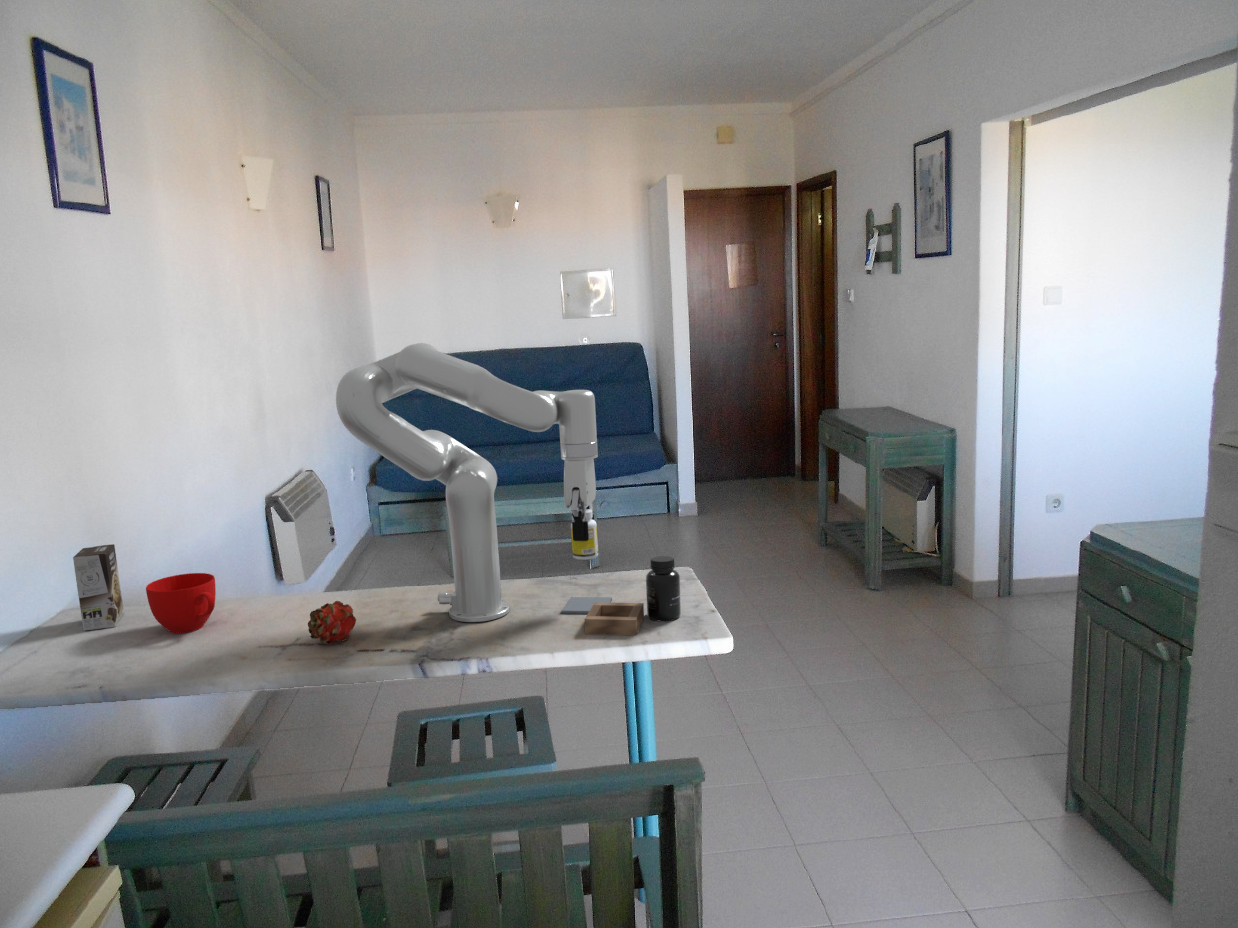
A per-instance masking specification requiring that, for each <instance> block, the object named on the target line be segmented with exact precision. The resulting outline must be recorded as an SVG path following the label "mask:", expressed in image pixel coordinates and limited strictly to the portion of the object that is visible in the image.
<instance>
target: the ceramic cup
mask: <svg viewBox="0 0 1238 928" xmlns="http://www.w3.org/2000/svg"><path fill="white" fill-rule="evenodd" d="M145 591H146V597H147V601H148V606H149V608H150V609H149V610H150V611H151V613H152V615H153V617H154V619H155V620H156V621H157V623H158V624H159V625H161V627H162V628H164V629H166V630H167V631H168V632H169V633H171V634H186V633H191V632H194V631H197V630H200V629H202V628H203V627H204V626H205V624H206V623H207V621H208V620H209V618H210V616H211V615H212V613H213V612H214V610H215V605H216V594H217V593H216V578H215V576H214V574H210V573H206V572H191V573H183V574H176V575H170V576H167V577H163V578H160V579H157V580H154V581H152V582H150V583H148V584H147V585H146V586H145Z"/></svg>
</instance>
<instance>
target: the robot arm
mask: <svg viewBox="0 0 1238 928" xmlns="http://www.w3.org/2000/svg"><path fill="white" fill-rule="evenodd" d="M417 389H418V390H420V391H424V392H426V393H429V394H431V395H435V396H437V397H440V398H443V399H445V400H448V401H451V402H454V403H457V404H460V405H462V406H464V407H468V408H469V409H471V410H474V411H476V412H479V413H482V414H484V415H486V416H488V417H490V418H493V419H496V420H499V421H501V422H503V423H505V424H508V425H512V426H515V427H517V428H520V429H523V430H526V431H529V432H531V433H533V432H534V433H542V432H546V431H548V430H549V429H550V428H552V427H553V425H558V428H559V440H560V441H559V443H560V457H561V459H560V460H563V461H564V463H563V464H564V465H563V466H564V467H563V505H564V507H565V508H566V509H569V508H570V510H571V523H572V530H573V540H574V541H588V539H589V533H588V521H586V509H590V510H592V515H593V517H592V520H594V521H595V514H594V511H595V510H594V501H595V499H596V495H597V487H596V485H597V484H596V483H597V482H596V472H595V462H594V461H595V459H596V458H598V457H599V455H598V454H599V452H598V435H597V433H598V432H597V415H596V398H595V394H594V393H593V392H592V391H591V390H589V389H572V390H566V391H565V390H564V391H555V390H542V389H541V390H534V391H531V390H528V389H525V388H522V387H520V386H517V385H515V384H512V383H509V382H507V381H505V380H502V379H500V378H499V377H497V376H495V375H494V374H492V373H491V372H490V371H489V370H487V369H485V368H484V367H481V366H480V365H478V364H475V363H472V362H470V361H466V360H463V359H461V358H459V357H455V356H453V355H450V354H447V353H445V352H441V351H440V350H438V349H437V348H436V347H434V346H432V345H431V344H427V343H423V342H420V343H419V342H418V343H414V344H409V345H406V346H405V347H404V348H403V349H402V350H400V351H399V352H396V353H394V354H391V355H388V356H387V357H384V358H382V359H379V360H376V361H374V362H372V363H369V364H366V365H363V366H359V367H358V366H357V367H355V368H353V369H351V370H349V371H348V372H346V373H345V374H344V375H343V376H342V377H341V379H340V381H339V382H338V384H337V388H336V394H335V405H336V411H337V414H338V417H339V419H340V421H341V423H342V425H344V427H345V429H347V431H348V432H349V433H350V434H351V435H352V436H353V437H355V438H356V439H357V440H358V441H360V442H361V443H363V444H364V445H366V446H367V447H369V448H370V449H372V450H373V451H374V452H376V453H378V454H379V455H381V456H382V457H384V458H385V459H386V460H388V461H390V462H391V463H392V464H394V465H396V466H397V467H399V468H400V469H402V470H404V471H405V472H406V473H408V474H409V475H410V476H411V477H413V478H415V479H417V480H420V481H423V482H425V481H426V482H428V481H429V482H431V481H433V480H436V481H438V482H440V483H441V484H443V485H444V486H445V502H446V509H447V515H448V523H449V533H450V545H451V554H452V555H451V556H452V568H453V570H452V571H453V583H454V591H452V592H438V594H437V602H438V603H439V605H450V608H449V609H448V615H449V617H450V618H451V619H453V620H454V621H458V622H462V623H463V622H464V623H481V622H482V623H483V622H487V621H493V620H497V619H500V618H502V617H504V616H506V615H507V614H509V612H510V610H511V607H510V606H511V604H510V603H509V602H508V601H507V600H504V599H502V583H501V570H500V556H499V553H500V552H499V542H498V541H499V540H498V528H497V527H498V526H497V517H496V516H497V515H496V507H495V491H496V487H497V484H498V474H497V472H496V469H495V467H494V466H493V465H492V463H490V462H489V461H488V460H487V459H486V458H484V457H482V456H481V455H479V454H478V453H477V452H475V451H474V450H472V449H470V447H469V448H468V447H467V446H466V445H465V444H463V443H461V442H460V441H458V440H457V439H455V438H454V437H452V436H450V435H448V434H447V433H445V432H442V431H440V430H435V429H426V430H421V429H420V428H418V427H416V426H415V425H413V424H411V423H410V422H408V421H407V420H405V419H404V418H403V417H401V416H400V415H398V414H396V413H394V412H393V411H390V410H388V409H387V408H386V407H385V406H384V405H383V403H386V402H388V401H390V400H392V399H395V398H397V397H398V398H399V396H403V395H405V394H407V393H410V392H411V391H414V390H417ZM579 510H583V515H582V512H581V511H579Z"/></svg>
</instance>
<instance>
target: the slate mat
mask: <svg viewBox="0 0 1238 928" xmlns="http://www.w3.org/2000/svg"><path fill="white" fill-rule="evenodd" d="M612 601H613V597H609V596H607V597H605V596H603V597H602V596H601V597H599V596H596V597H595V596H570V597H569V598H568V601H566V604H565V605H564V606H563V608H561V609H560V610H561V614H565V615H566V614H569V615H571V614H572V615H573V614H575V615H576V614H577V615H578V614H579V615H586V614H588V613H589V611H590V609H591V608H592V606H593V605H594V603H595V602H602V603H612Z"/></svg>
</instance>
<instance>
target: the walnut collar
mask: <svg viewBox="0 0 1238 928" xmlns="http://www.w3.org/2000/svg"><path fill="white" fill-rule="evenodd" d="M644 606H645V604H644V603H643V602H611V603H602V602H595V603H594V605H593V606H592V608H591V609H590V611H589V613H588V614H587V615H586V616H585V617H584V633H585V635H611V636H612V635H614V636H615V635H616V636H617V635H619V636H620V635H621V636H637V634H638V632H639V630H640V627H641V625H642V623H643V620H644V618H645V607H644Z"/></svg>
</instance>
